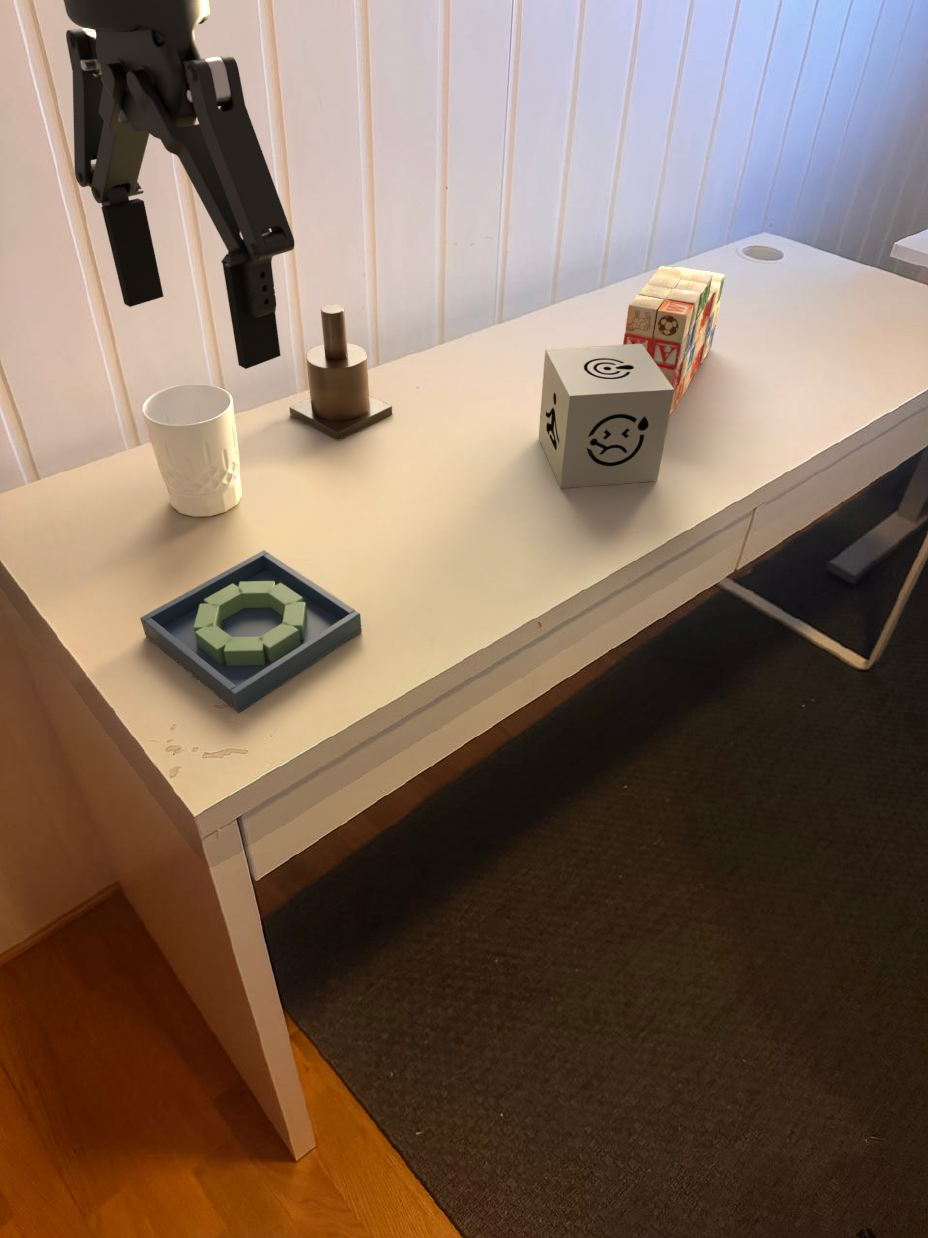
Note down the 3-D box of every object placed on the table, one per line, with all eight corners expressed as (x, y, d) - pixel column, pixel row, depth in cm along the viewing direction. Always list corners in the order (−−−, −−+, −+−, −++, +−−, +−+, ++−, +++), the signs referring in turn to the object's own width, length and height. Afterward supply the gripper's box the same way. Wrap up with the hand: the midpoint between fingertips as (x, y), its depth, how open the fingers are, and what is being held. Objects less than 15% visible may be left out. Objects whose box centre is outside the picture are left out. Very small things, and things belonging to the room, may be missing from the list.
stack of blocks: (663, 338, 115) (680, 239, 107) (712, 347, 113) (732, 248, 105) (613, 410, 101) (628, 302, 93) (667, 422, 99) (687, 313, 91)
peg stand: (290, 415, 99) (276, 308, 91) (344, 390, 103) (335, 287, 95) (338, 440, 95) (328, 331, 87) (392, 414, 99) (388, 308, 91)
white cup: (162, 482, 88) (139, 389, 82) (243, 470, 90) (227, 378, 83) (167, 527, 83) (143, 431, 76) (253, 513, 84) (237, 418, 78)
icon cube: (628, 431, 97) (641, 343, 91) (657, 480, 90) (674, 389, 83) (538, 437, 96) (545, 348, 89) (560, 488, 88) (569, 395, 82)
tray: (145, 636, 71) (139, 617, 70) (267, 568, 78) (263, 549, 77) (239, 713, 65) (234, 694, 64) (362, 632, 72) (360, 613, 71)
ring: (177, 630, 71) (173, 615, 70) (262, 582, 76) (259, 567, 75) (242, 682, 67) (239, 667, 66) (327, 627, 72) (325, 612, 71)
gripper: (337, -53, 42) (363, 370, 56) (72, -85, 55) (147, 266, 69) (201, -44, 38) (266, 411, 52) (-52, -81, 51) (55, 292, 65)
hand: (198, 329), depth 60 cm, fingers open, 13 cm apart
